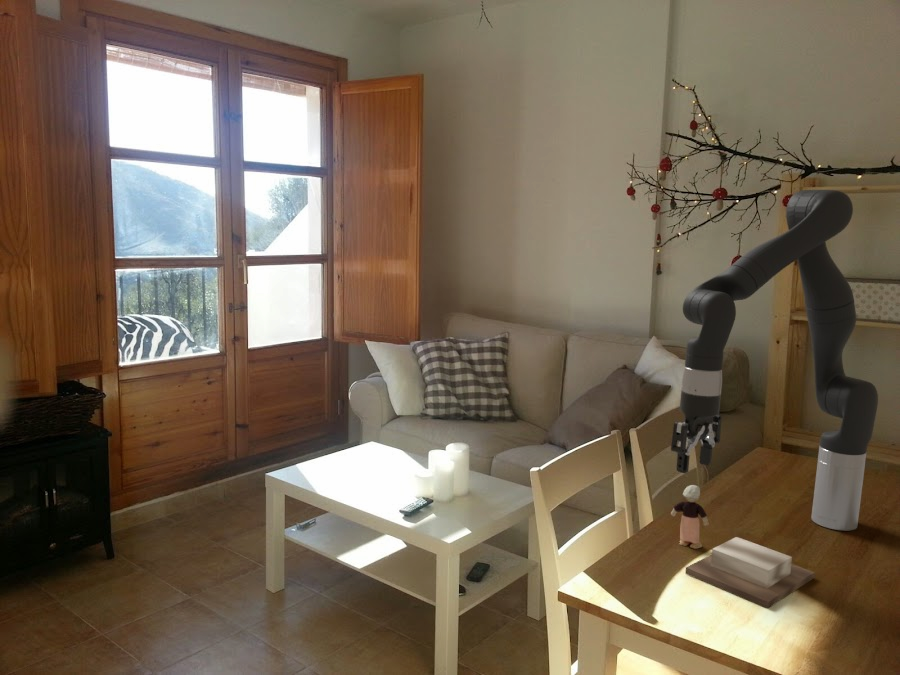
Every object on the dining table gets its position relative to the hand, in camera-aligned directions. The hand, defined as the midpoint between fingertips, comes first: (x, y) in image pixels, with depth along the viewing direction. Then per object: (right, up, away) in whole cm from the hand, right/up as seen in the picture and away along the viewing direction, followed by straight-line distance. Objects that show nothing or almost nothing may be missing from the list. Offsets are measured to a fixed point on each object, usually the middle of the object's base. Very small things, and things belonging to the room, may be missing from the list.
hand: (693, 468), depth 150 cm
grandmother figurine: (0, -16, +3) cm, 17 cm away
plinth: (+7, -18, -10) cm, 22 cm away
